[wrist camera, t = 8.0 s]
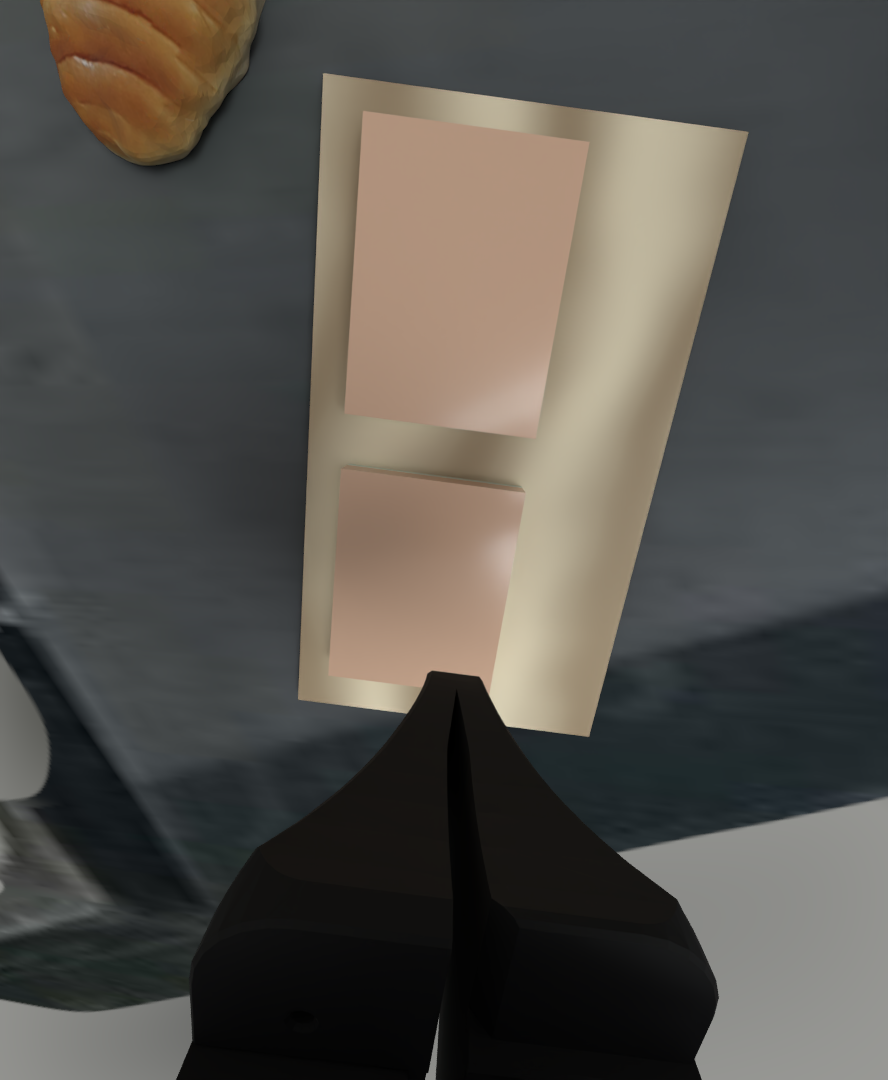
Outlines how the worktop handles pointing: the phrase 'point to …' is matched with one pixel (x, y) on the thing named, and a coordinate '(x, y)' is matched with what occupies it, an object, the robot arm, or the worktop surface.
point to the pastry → (150, 68)
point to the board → (569, 397)
